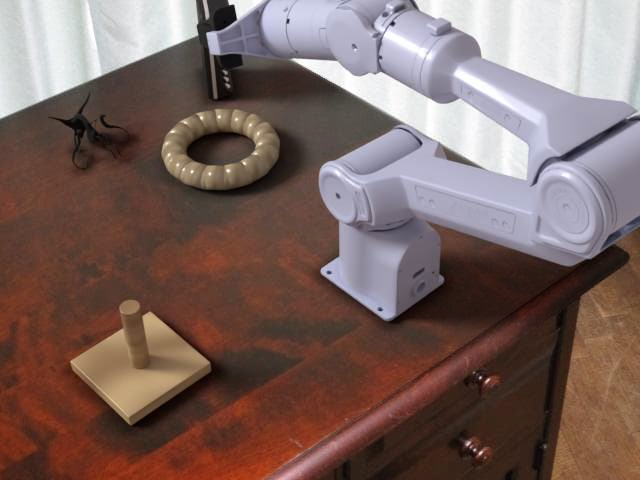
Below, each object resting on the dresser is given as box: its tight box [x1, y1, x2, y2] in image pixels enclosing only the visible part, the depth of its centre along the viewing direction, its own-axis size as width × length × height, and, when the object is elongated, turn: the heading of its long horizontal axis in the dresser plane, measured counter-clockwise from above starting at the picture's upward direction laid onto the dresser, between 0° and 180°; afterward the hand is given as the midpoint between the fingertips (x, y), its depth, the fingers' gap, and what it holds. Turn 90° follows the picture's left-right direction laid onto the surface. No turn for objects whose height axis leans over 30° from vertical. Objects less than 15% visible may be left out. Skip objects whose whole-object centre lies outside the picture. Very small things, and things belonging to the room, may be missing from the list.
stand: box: [69, 299, 212, 426], centre depth 101 cm, size 9×9×8 cm
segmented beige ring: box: [161, 108, 281, 191], centre depth 126 cm, size 13×13×3 cm
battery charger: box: [195, 0, 234, 100], centre depth 133 cm, size 7×4×11 cm, turn 10°
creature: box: [47, 91, 130, 170], centre depth 127 cm, size 8×5×8 cm
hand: (234, 25), depth 113 cm, fingers open, 7 cm apart
